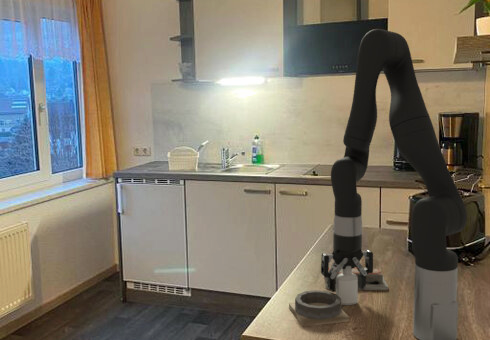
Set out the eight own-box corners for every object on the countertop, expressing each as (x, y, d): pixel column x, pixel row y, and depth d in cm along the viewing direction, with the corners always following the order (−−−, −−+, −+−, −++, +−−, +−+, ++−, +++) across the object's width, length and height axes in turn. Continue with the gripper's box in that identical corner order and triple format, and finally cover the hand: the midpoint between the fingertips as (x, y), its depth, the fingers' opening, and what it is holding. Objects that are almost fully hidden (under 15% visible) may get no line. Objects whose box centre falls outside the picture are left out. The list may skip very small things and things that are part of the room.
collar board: (349, 321, 133) (349, 305, 133) (303, 326, 131) (303, 310, 130) (331, 302, 145) (331, 288, 144) (289, 307, 142) (289, 292, 142)
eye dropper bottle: (355, 307, 142) (355, 264, 140) (334, 304, 144) (334, 261, 142) (358, 301, 145) (359, 259, 144) (338, 298, 148) (338, 256, 146)
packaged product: (325, 274, 154) (323, 263, 164) (325, 290, 155) (323, 278, 165) (388, 275, 152) (383, 264, 162) (388, 291, 153) (383, 279, 163)
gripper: (327, 237, 137) (326, 297, 139) (378, 233, 139) (377, 292, 142) (317, 229, 144) (317, 286, 146) (366, 225, 147) (365, 282, 149)
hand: (346, 289), depth 144 cm, fingers open, 8 cm apart
